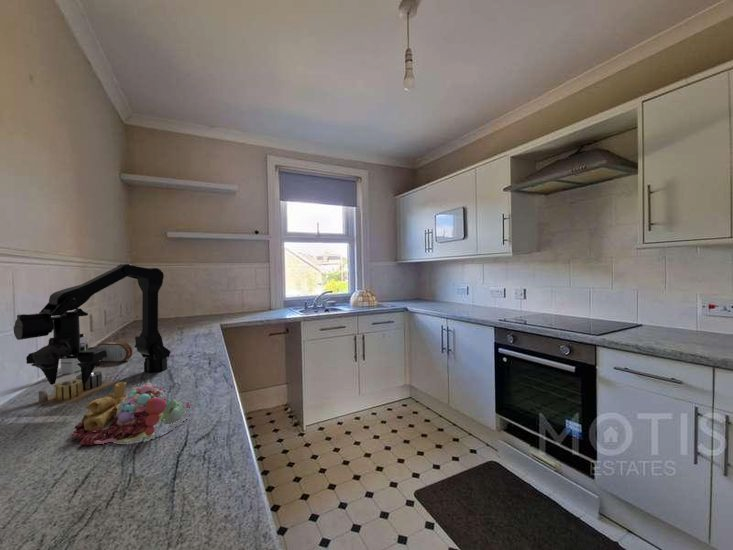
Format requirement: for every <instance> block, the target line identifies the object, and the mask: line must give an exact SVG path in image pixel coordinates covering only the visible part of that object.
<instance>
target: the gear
mask: <svg viewBox="0 0 733 550" xmlns="http://www.w3.org/2000/svg"><path fill="white" fill-rule="evenodd" d="M75 378H76V379H80V380H82V377H81V373H80V374H78V375H77V376H76V377H75ZM76 379H75V380H76ZM102 382H103V372H102V371H101V370H100V371H92V373H91V375H90V377H89V379H88V381H87V383H85V384H83V390H90V389H94V388H97V387H100V386H101V385H102Z"/></svg>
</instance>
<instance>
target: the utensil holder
mask: <svg viewBox="0 0 733 550" xmlns="http://www.w3.org/2000/svg"><path fill="white" fill-rule="evenodd" d="M93 341H94V342H93ZM93 343H94V344H93ZM96 343H97V342H96V340H95V339H94V338H91V340H88V350H89V349H92V348H97V346H96ZM91 344H93V347H92V346H91ZM90 346H91V347H90ZM99 364H100V361H99V362H98V363H97V365H98V366H99ZM97 365H96V366H97Z"/></svg>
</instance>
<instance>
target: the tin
mask: <svg viewBox="0 0 733 550" xmlns="http://www.w3.org/2000/svg"><path fill="white" fill-rule="evenodd" d="M96 347H97V348H104V349H105V350H106V354H107V357H104V358H102V360H100V361H101V362H104V363H106V362H107V363H123V362H125V361H128V360H129V359H131V358H132V356H133V348H132V346H131V345H130V344H129V343H127V342H125V341H111V340H110V341H109V340H108V341H104V342H101V343H99V344H98V345H97V346H96Z"/></svg>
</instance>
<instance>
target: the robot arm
mask: <svg viewBox="0 0 733 550" xmlns="http://www.w3.org/2000/svg"><path fill="white" fill-rule="evenodd" d="M127 277H128V278H130V279H134V280H135V279H136V280H137V285H138V287H139V288H140V290H141V292H142V293H141V294H142V307H141V308H142V312H141V314H142V324H141V327H142V330H141V333H140V335H137V336H134V339H135V341H134V342H135V345H134V348H136V351H137V352H138V353H140V354H141V356H142V358H144V362H143V372H144V373H148V374H157V373H163V372H165V371H166V370H168V358H170V355H171V350H170V349H168V348H166V347H165V346H164V341H163V338H162V337H163V336H162V335H161V334H160V332H159V292H160V290H161V288H162V286H163V282H164V277H165V275H164V272H163V271H162V270H161V269H160V268H157V267H142V266H138V265H133V264H130V263H123V264H118V265H117V266H116V267H113V268H112V269H110V270H108V271H106V272H104V273H102V274H100V275H97V276H96V277H94V278H92V279H90V280H87V281H85V282H84V283H82V284H81V283H80V284H78V285H74V286H71V287H67V288H64V289H61V290H57V291H55V292H53V293H52V294H51V295H49V298H48V302H47V303H46V304H45V305H44V307H42V309H41V310H40V311H39V312H38V313H31V314H30V313H29V314H25V313H24V314H17V315H16V320H15V321H14V326H13V334H14V337H15V339H17V340H18V341H21V340H28V339H35V338H39V337H40V338H41V337H46V336H48V335H49V334H51V333H53V337H50V338H49V339H48V343H47V345H45V346H43V347H41V348H40V349H38V350H37V351H33V352H30V353H28V354H27V356H26V357H25V359H26V364H27V365H30V366H32V367H36V368H38V369H40V370H41V371H42V373H43V374H44V376H45V377H46V379H47V381H48V383H49V385H53V386H54V385H56V381H57V377H58V370H59V363H60V360H61V359H78V361H80V362H81V363H78V364H77V365H79V366H80V367H81V371H80V374H81V377H82V383H83V384H85V383H87V381H88V379H89V377H90V375H91V373H92V372H94V369H95V367H96V366H97V363H98V362H99V363H100V361H101V360H102V358H104V357H107V354H106V350H105V349H104V348H92V349H89V350H86V351H83V352H80V351H82V350H84V347H80V338H81V337H84V336H83V334H84V333H81V331H80V329H81V328H80V317H86V316H89V313H88V312H86V311H84V310H83V309H82V308H80V307H82V306H83V305H84V304H85V303H87V302H88V301H89V300H90V298H91V297H93V296H95V294H97V293H99V292H101V291H102V290H104V289H106V288H109V287H111V286H113V284H116V283H118V282H119V281H122V280H123V279H125V278H127ZM70 355H73V356H70Z"/></svg>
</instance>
